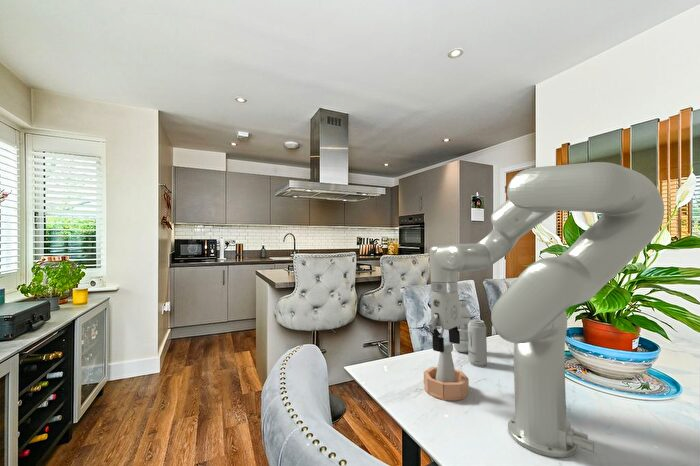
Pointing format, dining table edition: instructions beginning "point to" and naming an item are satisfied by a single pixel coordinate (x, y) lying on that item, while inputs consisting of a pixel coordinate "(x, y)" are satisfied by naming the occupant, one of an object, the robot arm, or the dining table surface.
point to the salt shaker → (446, 365)
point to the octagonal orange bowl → (446, 386)
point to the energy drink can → (477, 343)
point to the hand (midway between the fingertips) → (446, 346)
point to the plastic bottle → (463, 327)
